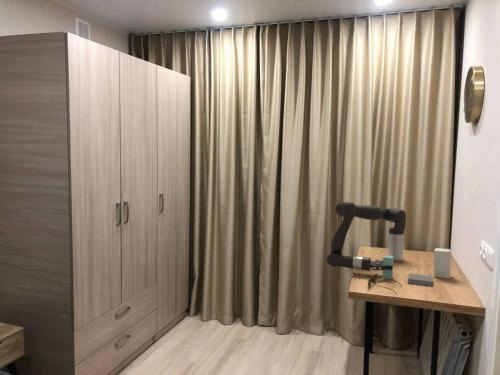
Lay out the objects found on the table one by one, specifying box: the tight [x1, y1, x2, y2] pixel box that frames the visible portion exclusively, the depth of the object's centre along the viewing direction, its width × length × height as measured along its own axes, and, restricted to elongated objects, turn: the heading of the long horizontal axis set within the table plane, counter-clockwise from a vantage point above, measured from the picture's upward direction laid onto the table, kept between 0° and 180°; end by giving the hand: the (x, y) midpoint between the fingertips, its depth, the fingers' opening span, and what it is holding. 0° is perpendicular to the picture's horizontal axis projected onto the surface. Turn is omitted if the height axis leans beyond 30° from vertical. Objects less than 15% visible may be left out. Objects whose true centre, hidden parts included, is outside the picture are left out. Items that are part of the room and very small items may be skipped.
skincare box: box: [433, 247, 452, 280], centre depth 229 cm, size 8×7×16 cm
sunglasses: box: [367, 273, 403, 294], centre depth 212 cm, size 14×15×5 cm
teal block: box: [382, 254, 394, 280], centre depth 228 cm, size 5×5×12 cm
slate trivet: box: [407, 273, 433, 287], centre depth 221 cm, size 10×12×2 cm
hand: (392, 266), depth 227 cm, fingers closed on teal block, 5 cm apart
